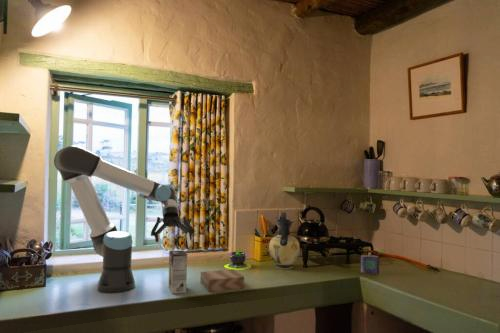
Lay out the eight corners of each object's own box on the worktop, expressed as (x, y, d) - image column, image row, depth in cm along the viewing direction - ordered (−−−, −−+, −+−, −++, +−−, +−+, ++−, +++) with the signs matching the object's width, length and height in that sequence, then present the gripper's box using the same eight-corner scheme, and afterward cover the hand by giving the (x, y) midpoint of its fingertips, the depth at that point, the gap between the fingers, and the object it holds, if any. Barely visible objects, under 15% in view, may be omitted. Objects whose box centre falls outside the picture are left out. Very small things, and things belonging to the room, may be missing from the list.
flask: (361, 273, 185) (361, 252, 185) (360, 272, 188) (360, 251, 188) (379, 274, 183) (379, 253, 184) (378, 273, 186) (378, 252, 186)
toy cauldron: (234, 262, 205) (234, 243, 206) (256, 266, 197) (256, 246, 198) (218, 267, 193) (219, 247, 193) (241, 271, 185) (242, 250, 185)
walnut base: (208, 292, 149) (208, 280, 150) (200, 283, 162) (200, 272, 163) (243, 288, 155) (244, 276, 156) (233, 279, 168) (233, 269, 169)
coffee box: (168, 287, 154) (169, 250, 155) (182, 286, 157) (183, 249, 157) (171, 294, 146) (172, 254, 147) (186, 292, 148) (187, 253, 149)
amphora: (267, 263, 204) (267, 211, 205) (296, 263, 205) (296, 211, 206) (270, 271, 186) (271, 213, 188) (302, 271, 187) (302, 214, 188)
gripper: (193, 214, 183) (199, 249, 169) (143, 216, 174) (145, 252, 159) (196, 205, 179) (203, 240, 164) (144, 206, 169) (147, 243, 155)
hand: (174, 246), depth 162 cm, fingers open, 13 cm apart
